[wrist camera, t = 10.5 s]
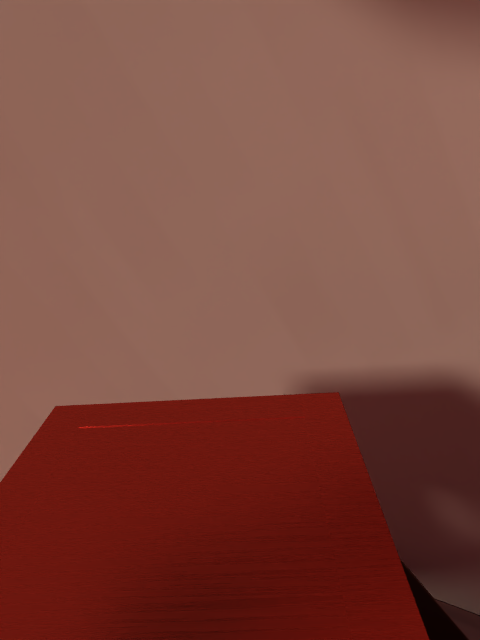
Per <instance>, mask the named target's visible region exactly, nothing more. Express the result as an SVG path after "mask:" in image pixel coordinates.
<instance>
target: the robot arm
mask: <svg viewBox="0 0 480 640" xmlns="http://www.w3.org/2000/svg"><path fill="white" fill-rule="evenodd" d="M400 561H401V560H400ZM401 564H402V567H403V569H404V572H405V575H406V578H407V580H408V583H409V586H410V588H411V591H412V594H413V597H414V599H415V602H416V605H417V607H418V610H419V613H420V616H421V618H422V621H423V624H424V626H425V629H426V632H427V635H428V637H429V640H469V639H468V638H467V637H466V635H465V634H464V633H463V632H462V631H461V630H460V628H459V627H458V626H457V625H456V624H455V623H454V621H453V620H452V619H451V618H450V617H449V616H448V614H447V613H446V612H445V611H444V610H443V609H442V607H441V606H440V605H439V604H438V603H437V602H436V600H435V599H434V598H433V597H432V596H431V595H430V593H429V592H428V591H427V590H426V589H425V588H424V586H423V585H422V584H421V583H420V582H419V581H418V579H417V578H416V577H415V576H414V575H413V574H412V572H411V571H410V570H409V569H408V568H407V567H406V565H405V564H404V563H403V562H402V561H401Z"/></svg>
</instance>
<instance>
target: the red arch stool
mask: <svg viewBox="0 0 480 640" xmlns="http://www.w3.org/2000/svg"><path fill="white" fill-rule="evenodd" d="M0 640H429V637H428V635H427V632H426V629H425V626H424V624H423V621H422V618H421V616H420V613H419V610H418V607H417V605H416V602H415V599H414V597H413V594H412V591H411V588H410V586H409V583H408V580H407V578H406V575H405V572H404V569H403V567H402V564H401V561H400V558H399V556H398V553H397V550H396V548H395V545H394V542H393V539H392V537H391V534H390V531H389V529H388V526H387V523H386V520H385V518H384V515H383V512H382V510H381V507H380V504H379V501H378V499H377V496H376V493H375V491H374V488H373V485H372V482H371V480H370V477H369V474H368V472H367V469H366V466H365V463H364V461H363V458H362V455H361V453H360V450H359V447H358V444H357V442H356V439H355V436H354V433H353V431H352V428H351V425H350V423H349V420H348V417H347V414H346V412H345V409H344V406H343V404H342V401H341V398H340V395H339V393H338V392H336V393H315V394H295V395H274V396H254V397H234V398H213V399H193V400H172V401H152V402H132V403H111V404H91V405H70V406H55V408H54V409H53V410H52V412H51V413H50V415H49V416H48V417H47V419H46V420H45V422H44V423H43V424H42V426H41V427H40V428H39V430H38V431H37V433H36V434H35V435H34V437H33V438H32V439H31V441H30V442H29V444H28V445H27V446H26V448H25V449H24V451H23V452H22V453H21V455H20V456H19V457H18V459H17V460H16V462H15V463H14V464H13V466H12V467H11V468H10V470H9V471H8V473H7V474H6V475H5V477H4V478H3V480H2V481H1V482H0Z"/></svg>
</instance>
